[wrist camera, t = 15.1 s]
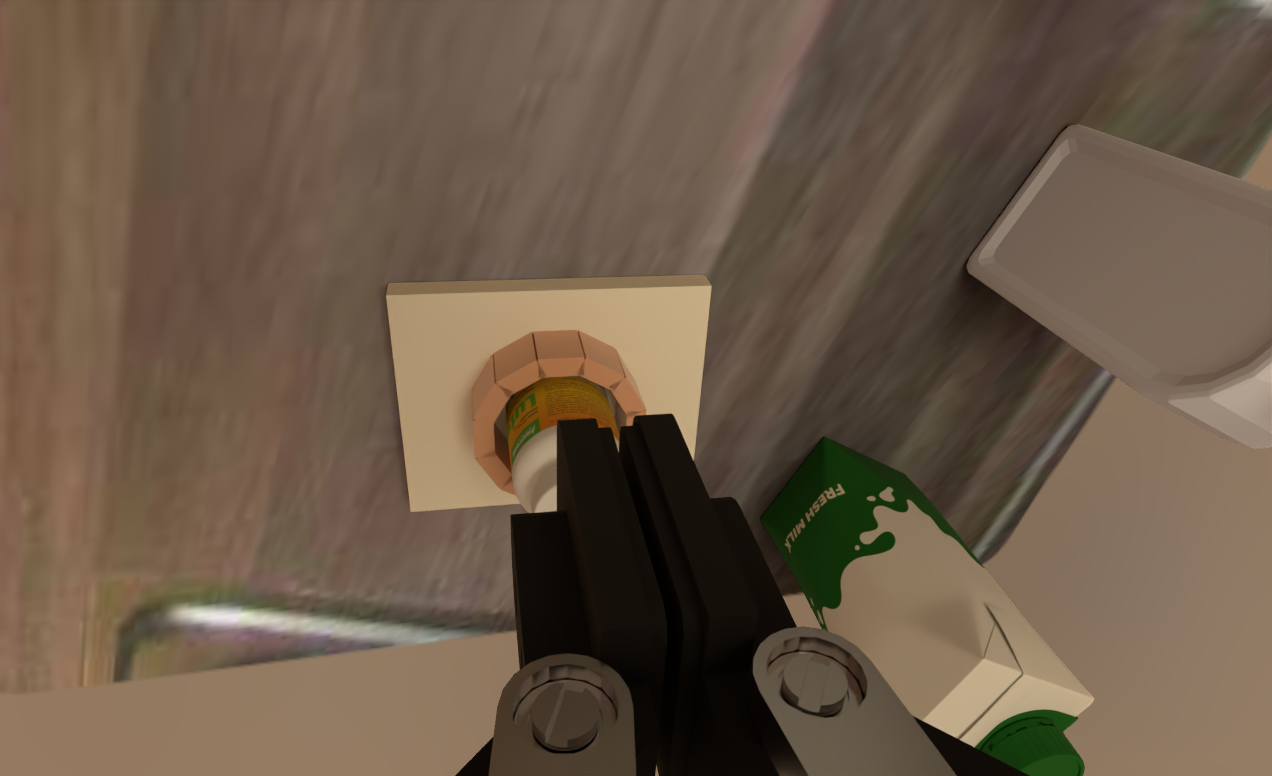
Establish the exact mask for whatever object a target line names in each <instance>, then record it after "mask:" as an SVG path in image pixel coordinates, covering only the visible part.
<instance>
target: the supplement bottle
mask: <svg viewBox="0 0 1272 776" xmlns="http://www.w3.org/2000/svg"><path fill="white" fill-rule="evenodd" d="M505 409H506V424H507V434H508V445H509V454H510V464H511V474H512V482H513V488H514V491H515V494H516V496H517V499H518V500H519V502H520V504H521V505H522V506H523V507H524V509H525V510H526V511H527V512H528V513H538V512H551V511H557V421H558V420H570V419H587V418H595V419H596V420H597V423H598V427H599V428H602V427H611V429H612V432H613V435H614V438H615V442H616V445H617V448H618V452H619V437H620V435H619V432H618V429H617V426H616V423H615V419H614V416H613V413H612V410H611V407H610V403H609V400H608V396H607V394H606V391H605V388H604V387H603V386H601V385H599V384H596V383H594V382H592V381H590V380H588V379H586V378H583V377H581V376H565V377H545V378H541V379H540V380H538V381H536V382H534V383H532V384H531V385H529V386H527V387H525V388H523V389H521V390H520V391H518V392H516V393H514V394H512V395H511V396H510V398H509V399H508V401H507V403H506V405H505Z"/></svg>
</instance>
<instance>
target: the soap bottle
mask: <svg viewBox="0 0 1272 776" xmlns="http://www.w3.org/2000/svg"><path fill="white" fill-rule="evenodd" d="M966 267H967V270H968V272H969V273H970V274H971V275H972V276H974V277H975V278H977V279H978V280H979V281H981V282H982V283H984V284H985V285H987V286H988V287H989V288H991V289H992V290H994V291H995V292H996V293H998V294H999V295H1001V296H1002V297H1004V298H1005V299H1006V300H1008V301H1009V302H1011V303H1012V304H1014V305H1015V306H1016V307H1018V308H1019V309H1021V310H1022V311H1023V312H1025V313H1026V314H1028V315H1029V316H1031V317H1032V318H1033V319H1035V320H1036V321H1038V322H1039V323H1040V324H1042V325H1043V326H1045V327H1046V328H1048V329H1049V330H1050V331H1052V332H1053V333H1055V334H1056V335H1058V336H1059V337H1060V338H1062V339H1063V340H1065V341H1066V342H1067V343H1069V344H1070V345H1072V346H1073V347H1075V348H1076V349H1077V350H1079V351H1080V352H1082V353H1083V354H1084V355H1086V356H1087V357H1089V358H1090V359H1092V360H1093V361H1094V362H1096V363H1097V364H1099V365H1100V366H1102V367H1103V368H1104V369H1106V370H1107V371H1109V372H1110V373H1111V374H1113V375H1114V376H1116V377H1117V378H1119V379H1120V380H1121V381H1123V382H1124V383H1126V384H1127V385H1128V386H1130V387H1131V388H1133V389H1134V390H1136V391H1137V392H1138V393H1140V394H1142V395H1143V396H1145V397H1147V398H1149V399H1151V400H1153V401H1154V402H1156V403H1158V404H1160V405H1162V406H1164V407H1166V408H1167V409H1169V410H1171V411H1173V412H1175V413H1177V414H1178V415H1180V416H1182V417H1184V418H1186V419H1188V420H1190V421H1191V422H1193V423H1195V424H1197V425H1199V426H1201V427H1203V428H1204V429H1206V430H1208V431H1210V432H1212V433H1213V434H1216V435H1217V436H1219V437H1221V438H1223V439H1226V440H1229V441H1232V442H1235V443H1238V444H1240V445H1243V446H1246V447H1249V448H1272V190H1270V189H1267V188H1265V187H1262V186H1259V185H1255V184H1253V183H1249V182H1247V181H1244V180H1241V179H1238V178H1235V177H1232V176H1229V175H1226V174H1223V173H1220V172H1218V171H1215V170H1212V169H1209V168H1206V167H1203V166H1200V165H1197V164H1194V163H1191V162H1188V161H1185V160H1182V159H1179V158H1176V157H1173V156H1171V155H1168V154H1165V153H1162V152H1159V151H1156V150H1153V149H1150V148H1147V147H1144V146H1141V145H1138V144H1135V143H1132V142H1129V141H1127V140H1124V139H1121V138H1118V137H1115V136H1112V135H1109V134H1106V133H1103V132H1100V131H1097V130H1094V129H1091V128H1088V127H1085V126H1082V125H1080V124H1076V125H1071V126H1068V127H1067V128H1066V129H1065V130H1064V131H1063V132H1062V133H1060V135H1059V136H1058V137H1057V139H1056V140H1055V141H1054V143H1053V144H1052V146H1051V147H1050V148H1049V150H1048V151H1047V152H1046V154H1045V155H1044V157H1043V158H1042V159H1041V161H1040V162H1039V163H1038V165H1037V166H1036V167H1035V169H1034V170H1033V172H1032V173H1031V174H1030V176H1029V177H1028V178H1027V180H1026V181H1025V182H1024V184H1023V185H1022V187H1021V188H1020V189H1019V191H1018V192H1017V193H1016V195H1015V196H1014V197H1013V199H1012V200H1011V202H1010V203H1009V204H1008V206H1007V207H1006V208H1005V210H1004V211H1003V212H1002V214H1001V215H1000V217H999V218H998V219H997V221H996V222H995V223H994V225H993V226H992V227H991V229H990V230H989V232H988V233H987V234H986V236H985V237H984V238H983V240H982V241H981V242H980V244H979V245H978V247H977V248H976V249H975V251H974V252H973V253H972V255H971V256H970V258H969V261H968V263H967V266H966Z"/></svg>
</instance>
